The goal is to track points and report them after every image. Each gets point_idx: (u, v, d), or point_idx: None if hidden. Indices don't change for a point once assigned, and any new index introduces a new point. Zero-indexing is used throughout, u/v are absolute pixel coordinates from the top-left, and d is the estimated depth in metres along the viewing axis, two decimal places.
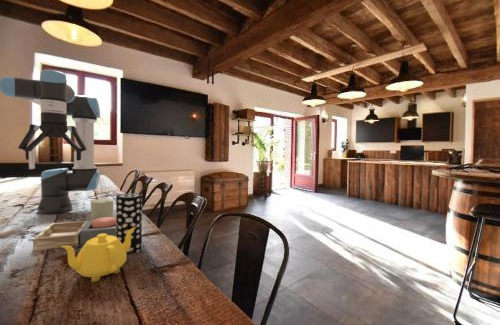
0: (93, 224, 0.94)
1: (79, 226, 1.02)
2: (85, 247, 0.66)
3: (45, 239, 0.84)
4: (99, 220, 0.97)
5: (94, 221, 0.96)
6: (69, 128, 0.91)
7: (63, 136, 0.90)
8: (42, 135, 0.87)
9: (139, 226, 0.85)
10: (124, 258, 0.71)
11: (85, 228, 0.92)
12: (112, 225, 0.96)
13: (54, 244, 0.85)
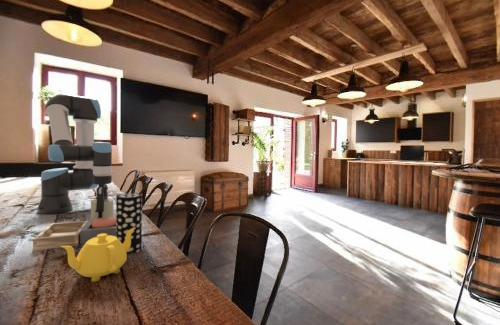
0: (93, 224, 0.94)
1: (79, 226, 1.02)
2: (85, 247, 0.66)
3: (45, 239, 0.84)
4: (99, 220, 0.97)
5: (94, 221, 0.96)
6: None
7: None
8: None
9: (139, 226, 0.85)
10: (124, 258, 0.71)
11: (85, 228, 0.92)
12: (112, 225, 0.96)
13: (54, 244, 0.85)
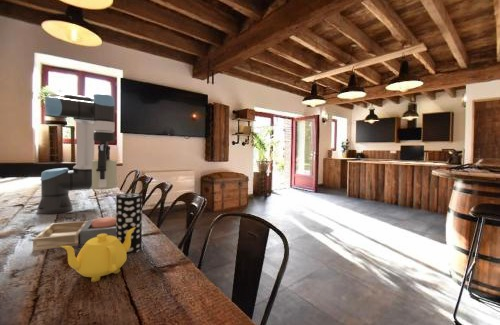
0: (93, 224, 0.94)
1: (79, 226, 1.02)
2: (85, 247, 0.66)
3: (45, 239, 0.84)
4: (99, 220, 0.97)
5: (94, 221, 0.96)
6: None
7: None
8: None
9: (139, 226, 0.85)
10: (124, 258, 0.71)
11: (85, 228, 0.92)
12: (112, 225, 0.96)
13: (54, 244, 0.85)
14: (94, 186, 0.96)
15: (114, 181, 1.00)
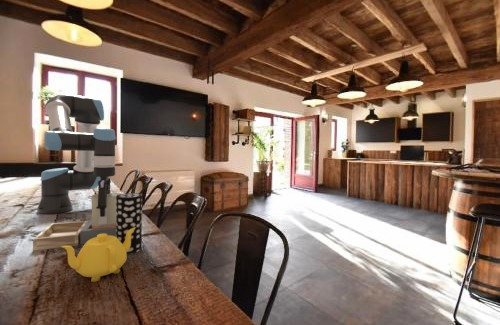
0: (93, 227, 0.94)
1: (79, 226, 1.02)
2: (85, 247, 0.66)
3: (45, 239, 0.84)
4: None
5: None
6: None
7: None
8: None
9: (139, 226, 0.85)
10: (124, 258, 0.71)
11: (85, 228, 0.92)
12: None
13: (54, 244, 0.85)
14: (94, 223, 0.94)
15: (115, 216, 0.98)
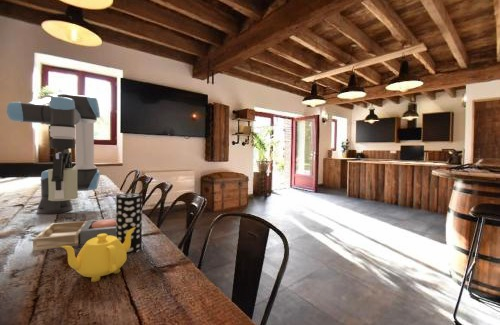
0: (93, 227, 0.94)
1: (79, 226, 1.02)
2: (85, 247, 0.66)
3: (45, 239, 0.84)
4: (99, 223, 0.97)
5: (94, 224, 0.96)
6: None
7: None
8: None
9: (139, 226, 0.85)
10: (124, 258, 0.71)
11: (85, 228, 0.92)
12: None
13: (54, 244, 0.85)
14: (50, 197, 0.88)
15: (74, 191, 0.92)
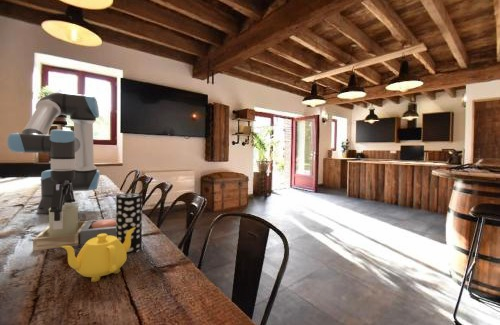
0: (93, 227, 0.94)
1: (79, 226, 1.02)
2: (85, 247, 0.66)
3: (45, 239, 0.84)
4: (99, 223, 0.97)
5: (94, 224, 0.96)
6: None
7: None
8: None
9: (139, 226, 0.85)
10: (124, 258, 0.71)
11: (85, 228, 0.92)
12: None
13: (54, 244, 0.85)
14: None
15: (75, 229, 0.93)
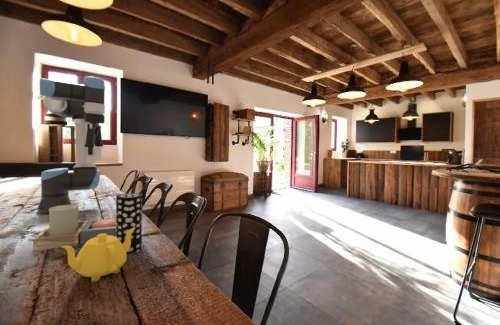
0: (93, 227, 0.94)
1: (79, 226, 1.02)
2: (85, 247, 0.66)
3: (45, 239, 0.84)
4: (99, 223, 0.97)
5: (94, 224, 0.96)
6: None
7: None
8: None
9: (139, 226, 0.85)
10: (124, 258, 0.71)
11: (85, 228, 0.92)
12: None
13: (54, 244, 0.85)
14: None
15: (75, 229, 0.93)
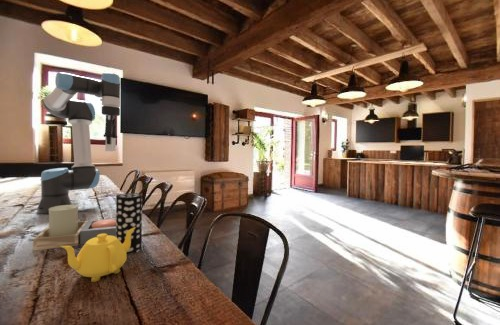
0: (93, 227, 0.94)
1: (79, 226, 1.02)
2: (85, 247, 0.66)
3: (45, 239, 0.84)
4: (99, 223, 0.97)
5: (94, 224, 0.96)
6: None
7: None
8: None
9: (139, 226, 0.85)
10: (124, 258, 0.71)
11: (85, 228, 0.92)
12: None
13: (54, 244, 0.85)
14: None
15: (75, 229, 0.93)
